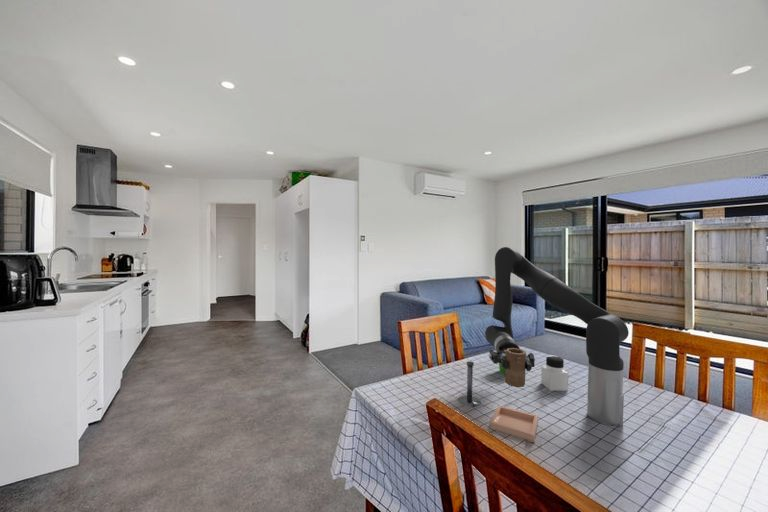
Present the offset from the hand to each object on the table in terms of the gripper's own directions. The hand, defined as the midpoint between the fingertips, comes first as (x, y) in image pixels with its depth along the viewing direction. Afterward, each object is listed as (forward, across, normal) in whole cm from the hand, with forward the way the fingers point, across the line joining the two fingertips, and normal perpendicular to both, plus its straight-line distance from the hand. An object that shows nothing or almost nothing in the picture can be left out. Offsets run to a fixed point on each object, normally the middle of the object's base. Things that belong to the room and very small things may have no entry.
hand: (517, 366), depth 92 cm
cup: (-46, +6, +20) cm, 50 cm away
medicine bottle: (-35, +22, +20) cm, 46 cm away
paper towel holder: (-14, -12, +20) cm, 27 cm away
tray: (-2, 0, +20) cm, 20 cm away
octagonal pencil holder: (-2, 0, +6) cm, 6 cm away
